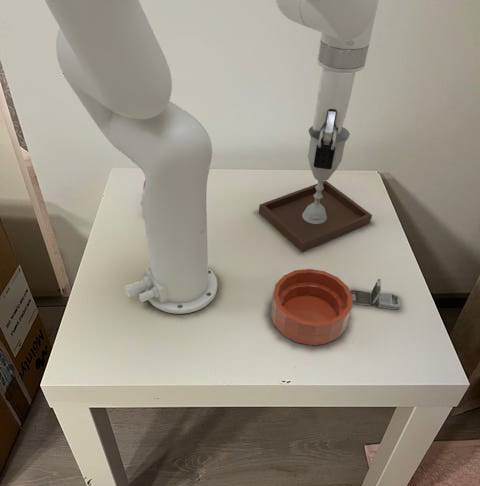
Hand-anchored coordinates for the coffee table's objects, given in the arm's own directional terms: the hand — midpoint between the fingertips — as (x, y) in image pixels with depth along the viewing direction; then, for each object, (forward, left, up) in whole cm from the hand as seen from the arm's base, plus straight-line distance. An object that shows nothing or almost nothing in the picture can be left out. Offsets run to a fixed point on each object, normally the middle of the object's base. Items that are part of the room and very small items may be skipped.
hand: (324, 153), depth 89 cm
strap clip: (-6, -24, -15) cm, 29 cm away
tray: (0, 0, -14) cm, 14 cm away
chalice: (0, 0, -14) cm, 14 cm away
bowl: (-18, -21, -14) cm, 31 cm away
